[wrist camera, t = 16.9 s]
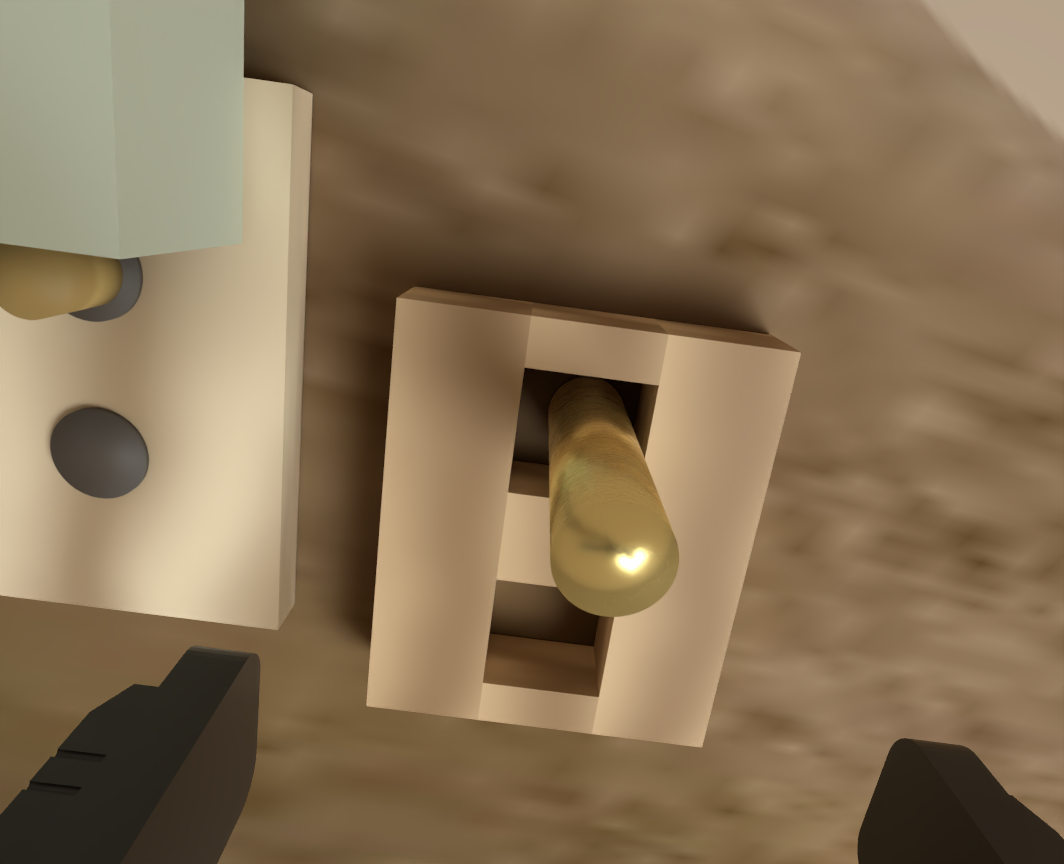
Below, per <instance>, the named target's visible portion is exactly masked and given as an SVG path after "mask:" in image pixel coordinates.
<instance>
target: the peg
mask: <svg viewBox="0 0 1064 864" xmlns="http://www.w3.org/2000/svg"><path fill="white" fill-rule="evenodd" d="M548 416H549V504H550V566H551V572H552V576H553V579H554V581H555V583H556V585H557V587H558V589H559V590H560V592H561V593H562V594H563V595H564V596H565V597H566V599H567V600H569V601H570V602H571V603H572V604H573V605H575V606H577V607H578V608H580V609H582V610H584V611H586V612H588V613H592V614H595V615H599V616H605V617H621V616H628V615H632V614H635V613H638V612H640V611H643V610H645V609H647V608H649V607H650V606H652V605H653V604H655V603H656V602H658V601H659V600H660V599H661V598H662V597H663V596H664V595H665V594H666V592H667V591H668V590H669V588H670V587H671V585H672V584H673V582H674V579H675V577H676V574H677V571H678V566H679V549H678V544H677V541H676V538H675V535H674V533H673V530H672V528H671V525H670V522H669V520H668V517H667V515H666V512H665V510H664V507H663V504H662V502H661V499H660V497H659V494H658V492H657V489H656V486H655V484H654V481H653V479H652V476H651V474H650V471H649V468H648V466H647V463H646V461H645V458H644V455H643V453H642V450H641V448H640V445H639V443H638V440H637V437H636V435H635V432H634V430H633V427H632V425H631V422H630V419H629V417H628V414H627V412H626V409H625V407H624V404H623V401H622V399H621V397H620V395H619V393H618V392H617V391H616V389H615V388H614V387H613V386H611V385H610V384H609V383H607V382H606V381H604V380H601V379H598V378H594V377H580V378H576V379H572V380H570V381H568V382H567V383H565V384H564V385H562V386H561V387H560V388H559V389H558V390H557V391H556V393H555V394H554V396H553V397H552V399H551V402H550V406H549V413H548Z"/></svg>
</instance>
